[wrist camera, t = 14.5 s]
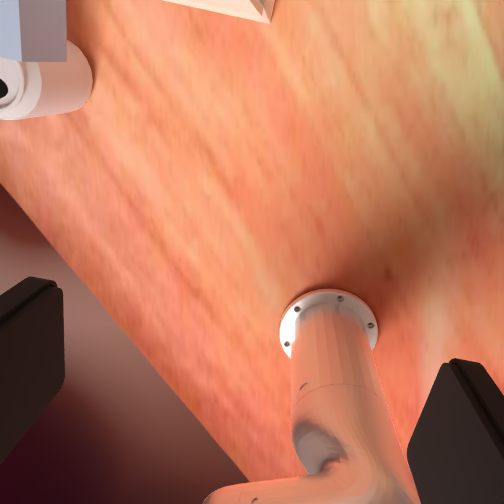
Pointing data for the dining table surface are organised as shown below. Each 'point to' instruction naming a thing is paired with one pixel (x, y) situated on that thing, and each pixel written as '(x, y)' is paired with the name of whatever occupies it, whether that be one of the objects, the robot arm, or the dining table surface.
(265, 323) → the dining table surface
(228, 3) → the flap
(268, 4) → the mailer box
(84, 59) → the can
